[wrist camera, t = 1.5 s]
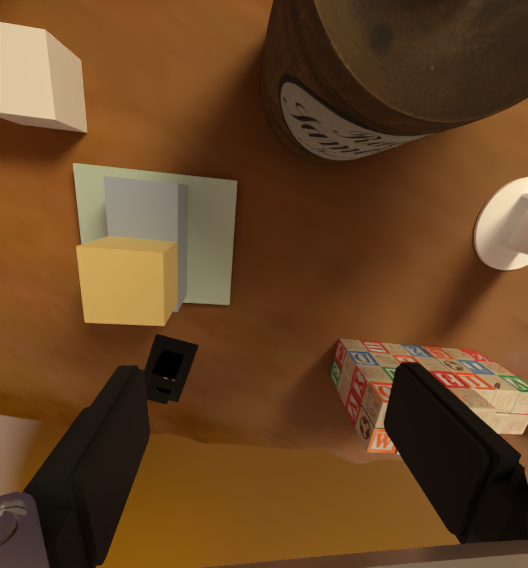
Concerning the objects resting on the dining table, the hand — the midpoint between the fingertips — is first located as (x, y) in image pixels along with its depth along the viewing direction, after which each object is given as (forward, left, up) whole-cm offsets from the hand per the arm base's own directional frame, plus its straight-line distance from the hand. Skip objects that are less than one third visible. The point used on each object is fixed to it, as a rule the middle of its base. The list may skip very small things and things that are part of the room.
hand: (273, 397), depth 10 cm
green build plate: (-1, -10, -23) cm, 25 cm away
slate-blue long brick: (-1, -10, -22) cm, 24 cm away
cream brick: (-14, -20, -24) cm, 34 cm away
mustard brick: (+1, -10, -17) cm, 20 cm away
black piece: (+16, -10, -24) cm, 30 cm away
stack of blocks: (+14, +23, -24) cm, 36 cm away
